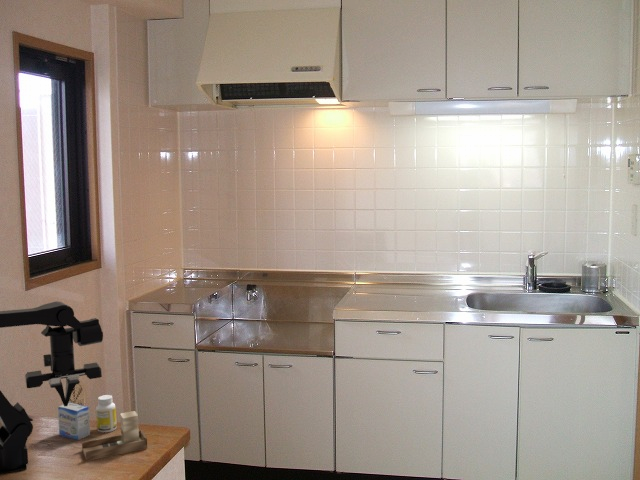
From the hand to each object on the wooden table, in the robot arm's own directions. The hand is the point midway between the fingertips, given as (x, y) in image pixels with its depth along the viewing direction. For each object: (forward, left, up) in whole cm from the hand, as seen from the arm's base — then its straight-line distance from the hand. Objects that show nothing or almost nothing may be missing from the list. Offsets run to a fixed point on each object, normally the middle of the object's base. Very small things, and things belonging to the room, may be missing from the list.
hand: (65, 405), depth 183 cm
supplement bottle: (+12, +11, -13) cm, 21 cm away
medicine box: (+3, +11, -13) cm, 18 cm away
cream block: (+16, -5, -12) cm, 20 cm away
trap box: (+11, -5, -13) cm, 18 cm away
